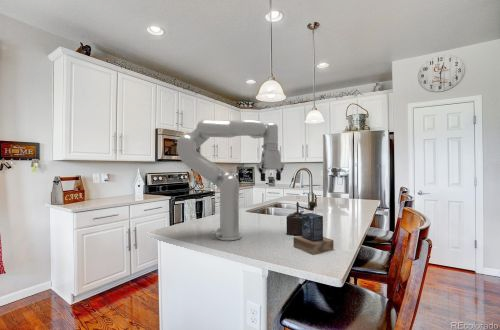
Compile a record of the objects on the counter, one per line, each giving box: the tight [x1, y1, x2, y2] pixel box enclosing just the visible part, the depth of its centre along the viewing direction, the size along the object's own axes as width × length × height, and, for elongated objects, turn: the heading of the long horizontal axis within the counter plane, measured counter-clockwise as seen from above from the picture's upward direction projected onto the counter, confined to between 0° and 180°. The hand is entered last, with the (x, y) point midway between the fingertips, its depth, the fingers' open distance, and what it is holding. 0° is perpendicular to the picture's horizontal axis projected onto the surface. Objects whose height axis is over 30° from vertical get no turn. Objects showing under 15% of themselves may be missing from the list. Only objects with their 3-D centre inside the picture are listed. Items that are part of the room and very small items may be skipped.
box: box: [302, 212, 324, 242], centre depth 110 cm, size 8×6×11 cm
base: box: [293, 236, 335, 256], centre depth 110 cm, size 12×12×4 cm
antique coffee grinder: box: [285, 200, 317, 237], centre depth 133 cm, size 16×11×18 cm
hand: (270, 180), depth 130 cm, fingers open, 9 cm apart
